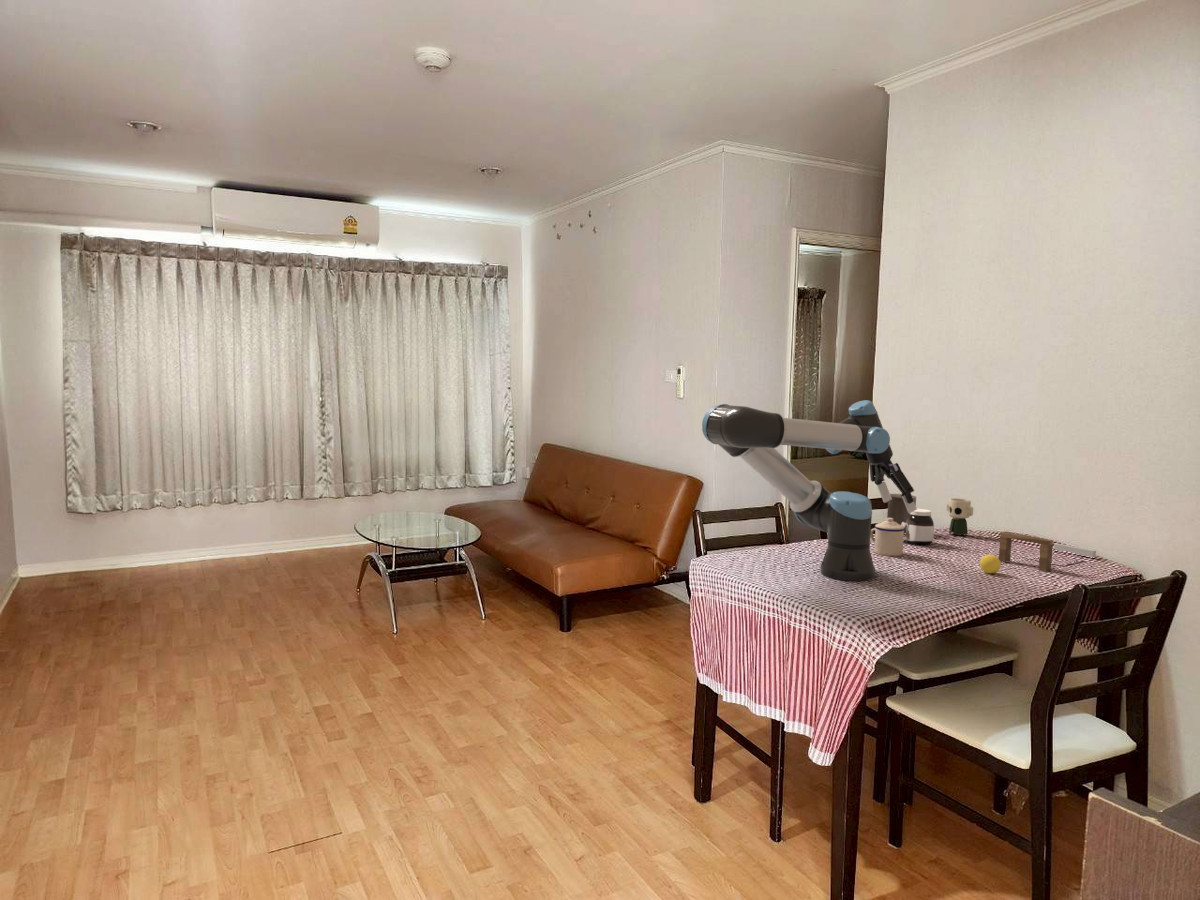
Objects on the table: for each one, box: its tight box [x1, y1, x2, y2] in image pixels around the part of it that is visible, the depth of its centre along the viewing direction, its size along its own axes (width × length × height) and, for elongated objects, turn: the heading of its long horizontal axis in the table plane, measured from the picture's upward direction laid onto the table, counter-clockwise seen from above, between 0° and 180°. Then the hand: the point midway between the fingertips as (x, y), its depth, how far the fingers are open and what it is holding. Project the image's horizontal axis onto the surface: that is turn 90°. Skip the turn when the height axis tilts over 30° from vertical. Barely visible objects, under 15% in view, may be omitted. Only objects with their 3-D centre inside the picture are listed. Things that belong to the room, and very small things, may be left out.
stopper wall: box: [1053, 543, 1097, 558], centre depth 250 cm, size 2×12×2 cm, turn 31°
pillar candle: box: [886, 493, 917, 533], centre depth 283 cm, size 10×10×15 cm
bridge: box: [998, 531, 1054, 572], centre depth 234 cm, size 3×14×9 cm, turn 31°
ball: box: [979, 554, 1002, 575], centre depth 225 cm, size 6×6×6 cm
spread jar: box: [901, 508, 935, 546], centre depth 266 cm, size 12×11×12 cm
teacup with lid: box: [870, 518, 905, 557], centre depth 250 cm, size 12×9×12 cm
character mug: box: [946, 498, 974, 536], centre depth 279 cm, size 11×7×13 cm, turn 27°
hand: (899, 505), depth 243 cm, fingers open, 13 cm apart
